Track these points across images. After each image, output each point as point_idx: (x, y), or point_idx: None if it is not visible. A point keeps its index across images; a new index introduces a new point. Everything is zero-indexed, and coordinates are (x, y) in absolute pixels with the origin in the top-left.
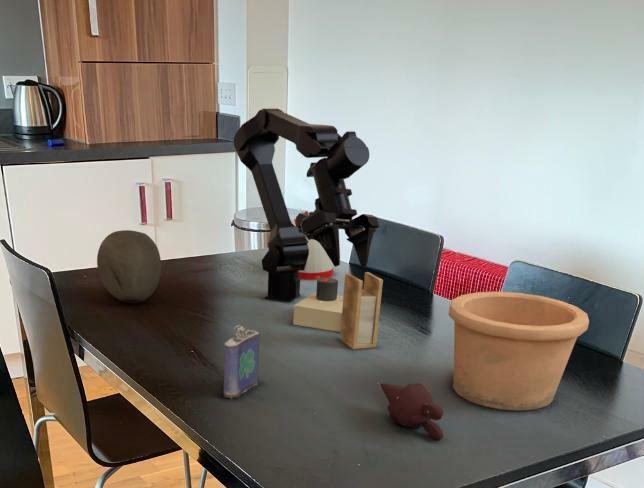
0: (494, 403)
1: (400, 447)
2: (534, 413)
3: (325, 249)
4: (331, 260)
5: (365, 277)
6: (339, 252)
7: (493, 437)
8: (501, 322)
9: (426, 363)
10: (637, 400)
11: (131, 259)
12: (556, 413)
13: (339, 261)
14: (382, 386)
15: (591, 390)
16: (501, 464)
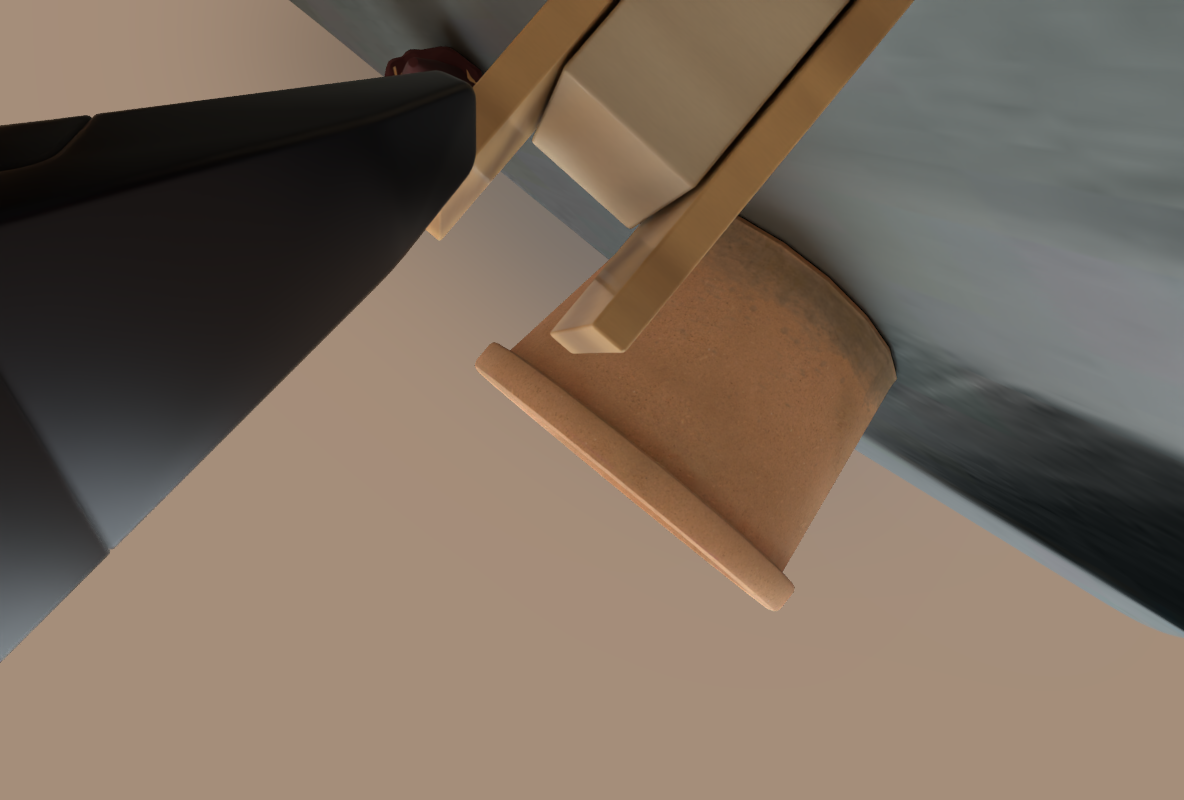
0: None
1: (411, 48)
2: None
3: (54, 152)
4: (328, 95)
5: (615, 289)
6: (332, 318)
7: (577, 200)
8: (514, 402)
9: (841, 179)
10: (930, 489)
11: None
12: None
13: (431, 202)
14: (405, 65)
15: (932, 460)
16: (522, 182)
